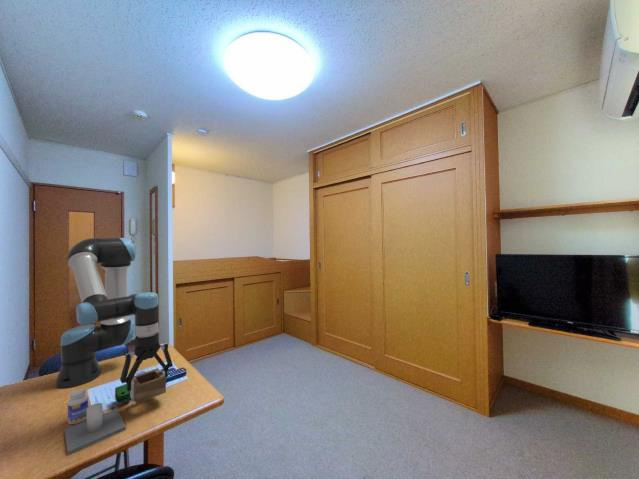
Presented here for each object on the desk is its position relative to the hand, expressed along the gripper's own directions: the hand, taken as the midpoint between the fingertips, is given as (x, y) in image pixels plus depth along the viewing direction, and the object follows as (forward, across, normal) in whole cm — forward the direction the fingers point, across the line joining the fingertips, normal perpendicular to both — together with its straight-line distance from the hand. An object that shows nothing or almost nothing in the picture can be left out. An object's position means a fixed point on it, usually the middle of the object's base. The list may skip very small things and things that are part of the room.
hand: (148, 392), depth 102 cm
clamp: (+5, -3, +9) cm, 11 cm away
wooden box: (0, 0, 0) cm, 0 cm away
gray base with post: (+5, -16, -3) cm, 17 cm away
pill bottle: (+5, -19, +9) cm, 22 cm away
